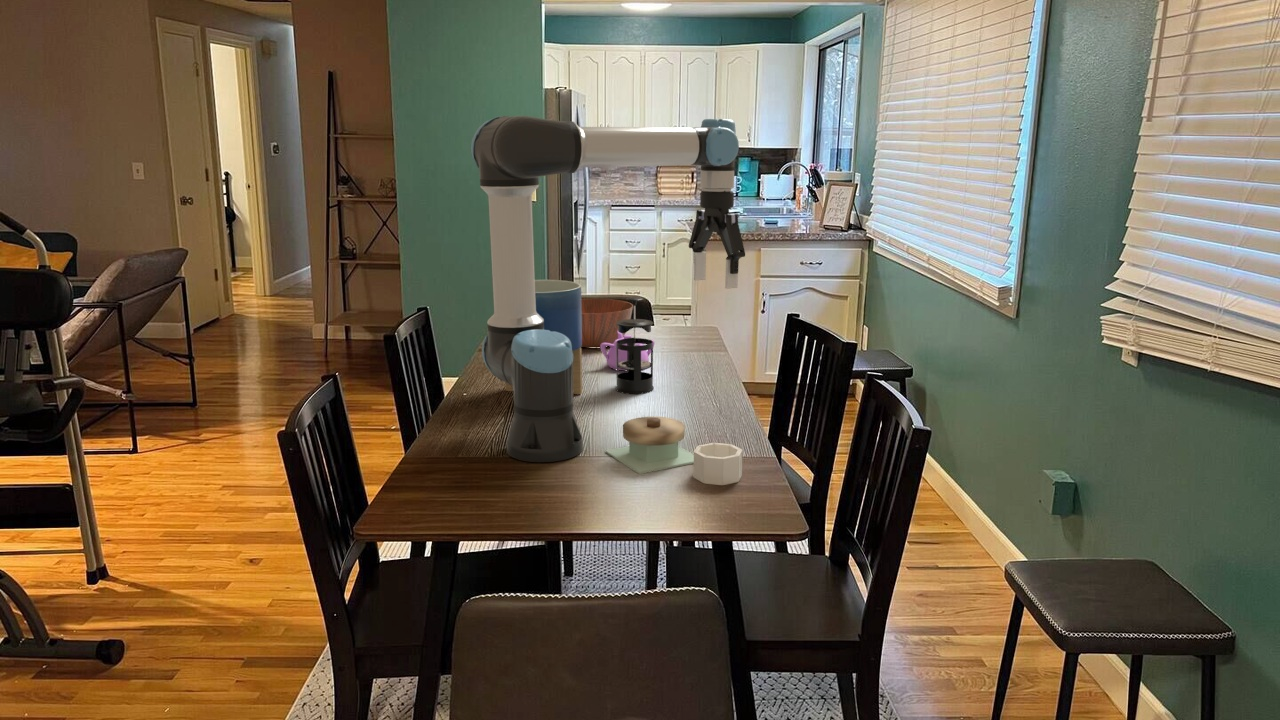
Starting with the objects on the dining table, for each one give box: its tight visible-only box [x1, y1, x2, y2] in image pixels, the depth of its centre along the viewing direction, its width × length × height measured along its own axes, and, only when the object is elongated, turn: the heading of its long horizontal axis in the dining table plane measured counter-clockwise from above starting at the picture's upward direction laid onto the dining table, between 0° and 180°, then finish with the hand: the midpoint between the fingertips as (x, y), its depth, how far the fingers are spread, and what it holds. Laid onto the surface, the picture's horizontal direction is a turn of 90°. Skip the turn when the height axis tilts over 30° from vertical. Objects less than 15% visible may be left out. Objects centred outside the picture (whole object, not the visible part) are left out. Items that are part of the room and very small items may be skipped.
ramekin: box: [692, 442, 743, 486], centre depth 170 cm, size 8×8×5 cm
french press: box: [615, 296, 654, 395], centre depth 227 cm, size 12×9×23 cm
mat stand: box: [604, 441, 694, 475], centre depth 181 cm, size 14×14×4 cm
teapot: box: [599, 331, 655, 370], centre depth 250 cm, size 12×14×9 cm
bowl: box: [581, 298, 634, 347], centre depth 280 cm, size 25×25×11 cm
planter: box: [504, 279, 583, 395], centre depth 224 cm, size 19×19×26 cm
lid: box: [622, 416, 686, 446], centre depth 180 cm, size 12×12×3 cm
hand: (715, 284), depth 212 cm, fingers open, 13 cm apart
